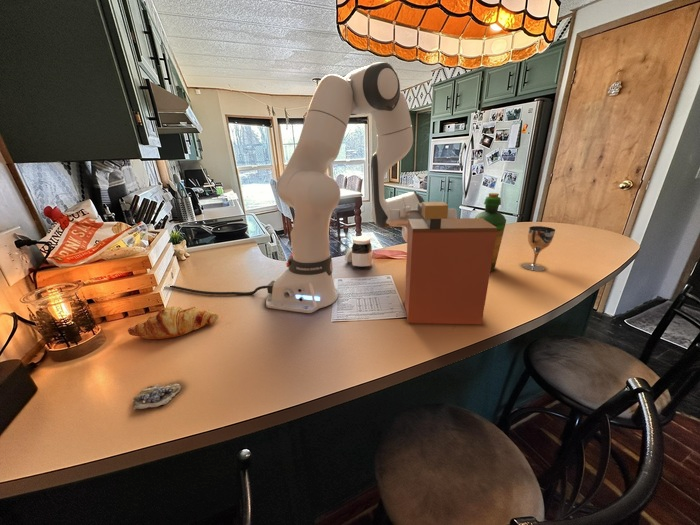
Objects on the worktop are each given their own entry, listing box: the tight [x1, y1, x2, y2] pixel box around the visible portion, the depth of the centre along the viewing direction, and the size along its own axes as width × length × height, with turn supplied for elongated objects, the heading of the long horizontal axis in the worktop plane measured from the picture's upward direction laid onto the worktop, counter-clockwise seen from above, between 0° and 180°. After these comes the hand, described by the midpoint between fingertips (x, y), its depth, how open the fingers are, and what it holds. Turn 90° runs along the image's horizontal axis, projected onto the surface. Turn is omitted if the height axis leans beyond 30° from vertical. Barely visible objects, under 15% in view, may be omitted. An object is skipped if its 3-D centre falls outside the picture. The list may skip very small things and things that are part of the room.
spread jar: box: [344, 235, 373, 270], centre depth 112 cm, size 12×11×12 cm
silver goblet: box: [522, 225, 556, 272], centre depth 103 cm, size 8×8×15 cm
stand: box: [404, 217, 497, 325], centre depth 73 cm, size 19×10×26 cm, turn 85°
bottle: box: [474, 192, 507, 272], centre depth 101 cm, size 11×11×28 cm
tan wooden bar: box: [418, 201, 449, 229], centre depth 73 cm, size 5×21×5 cm, turn 175°
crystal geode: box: [131, 383, 182, 410], centre depth 54 cm, size 7×8×2 cm
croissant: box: [127, 306, 219, 340], centre depth 74 cm, size 21×10×8 cm, turn 111°
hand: (425, 209), depth 77 cm, fingers open, 8 cm apart
